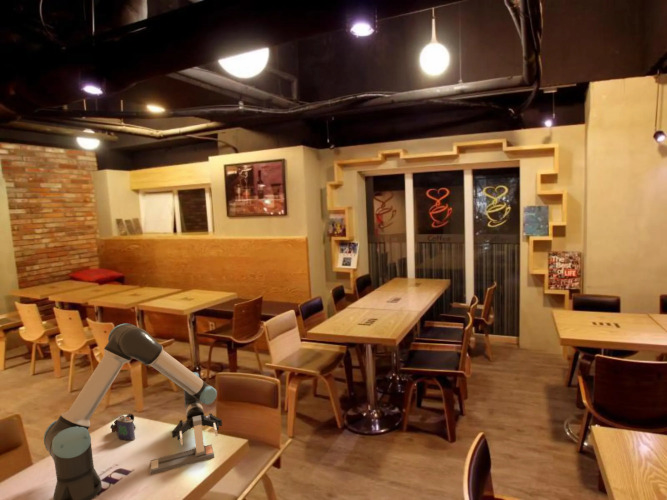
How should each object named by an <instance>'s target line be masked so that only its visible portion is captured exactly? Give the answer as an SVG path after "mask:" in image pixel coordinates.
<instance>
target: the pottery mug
mask: <svg viewBox="0 0 667 500" xmlns="http://www.w3.org/2000/svg"><path fill="white" fill-rule="evenodd" d="M123 416H124V415H121V416H120V417H118V418H121V417H123ZM125 416H126V419H128V420H133V425H134V431H135V430H136V425H135V423H134V421H135V415H134V414H133V413H128V414H127V415H125ZM109 429H111V433H115V431H116V432H117V433H118V428H117V419H115V420H114V421H113V423H111V425H110V428H109Z"/></svg>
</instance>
